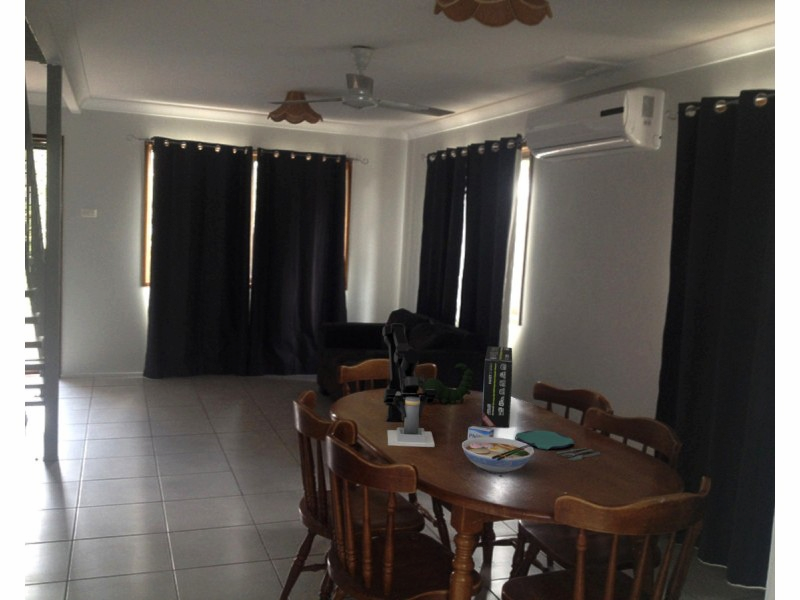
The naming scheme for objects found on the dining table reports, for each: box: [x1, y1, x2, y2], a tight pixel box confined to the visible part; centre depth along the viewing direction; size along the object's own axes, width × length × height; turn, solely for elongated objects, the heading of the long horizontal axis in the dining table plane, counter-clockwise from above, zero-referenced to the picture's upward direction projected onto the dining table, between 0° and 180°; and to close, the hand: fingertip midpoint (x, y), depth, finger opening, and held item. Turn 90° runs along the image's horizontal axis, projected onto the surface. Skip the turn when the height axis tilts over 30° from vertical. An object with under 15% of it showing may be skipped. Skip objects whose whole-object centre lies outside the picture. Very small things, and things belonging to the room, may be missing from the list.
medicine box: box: [466, 425, 495, 440], centre depth 245 cm, size 8×4×9 cm, turn 62°
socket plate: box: [387, 427, 435, 448], centre depth 257 cm, size 16×16×4 cm
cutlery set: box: [514, 429, 601, 461], centre depth 258 cm, size 20×30×2 cm, turn 32°
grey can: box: [403, 396, 420, 435], centre depth 255 cm, size 5×5×13 cm
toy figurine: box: [419, 363, 474, 405], centre depth 316 cm, size 9×19×25 cm
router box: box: [481, 345, 513, 429], centre depth 296 cm, size 36×11×27 cm, turn 172°
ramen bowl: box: [461, 436, 536, 474], centre depth 228 cm, size 25×23×8 cm
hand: (412, 416), depth 253 cm, fingers closed on grey can, 5 cm apart
